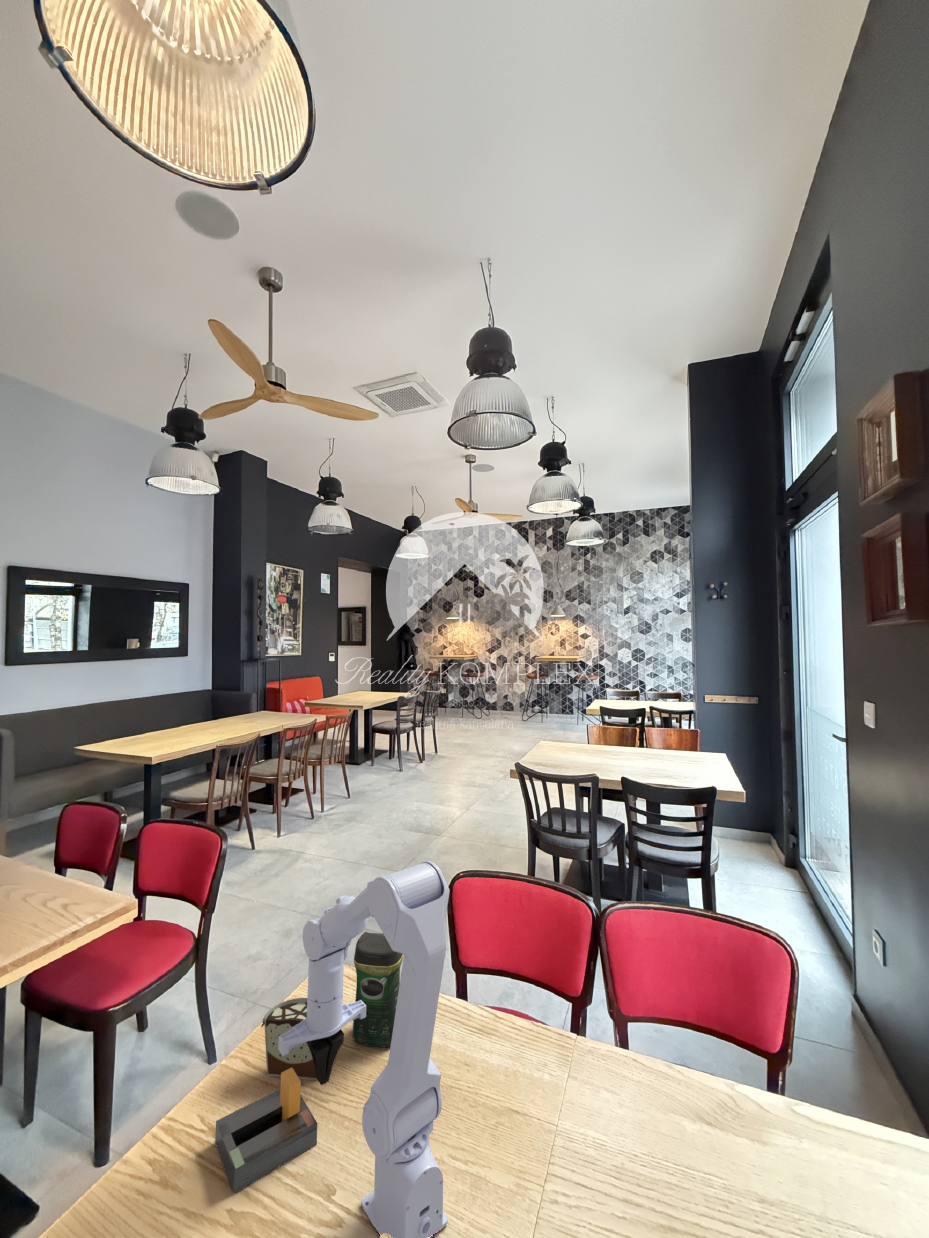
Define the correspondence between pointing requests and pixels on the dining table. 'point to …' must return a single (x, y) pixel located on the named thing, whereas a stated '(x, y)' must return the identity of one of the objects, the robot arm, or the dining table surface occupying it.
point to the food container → (278, 1024)
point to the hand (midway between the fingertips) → (322, 1079)
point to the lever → (290, 1093)
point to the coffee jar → (376, 989)
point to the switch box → (262, 1139)
